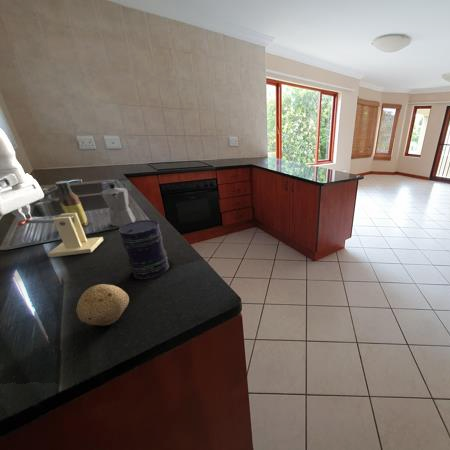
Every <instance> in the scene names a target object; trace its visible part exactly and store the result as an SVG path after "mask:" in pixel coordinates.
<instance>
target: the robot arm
mask: <svg viewBox="0 0 450 450" xmlns="http://www.w3.org/2000/svg"><path fill="white" fill-rule="evenodd" d="M44 198H45V193H44V191H43V190H42V187H41V185H40V184H39V182H38V181H37V180H36V179H35V178H34V177H33V176H32V175H31V174H29V173H27V172H25V171H24V168H23V166H22V164H20V162H19V161H18V159H17V156H16V150H15V149H14V147H13V144H12V142H11V140H10V138H9V137H8V135H7V134H6V132H5V131H4V130H3V128H1V127H0V217H1V216H5V215H7V214H9V213H11V214H12V215H13V216H15V217H16V218H17V220H18V221H19V222H21V221H26V220H27V219H29V218H31V217H32V214H31V205H30V204H33V203H35V202H37V201H40V200H43V199H44ZM32 218H33V217H32Z"/></svg>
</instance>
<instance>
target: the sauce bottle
mask: <svg viewBox="0 0 450 450" xmlns="http://www.w3.org/2000/svg"><path fill="white" fill-rule="evenodd" d="M55 186H56V187H57V190H58V192H59V193H58V194H59V199H58V200H59V201H58V203H59V205H60V207H61V209H62V212H63V214H66V213H77V215H78V218H79V220H80V223H81V225H82V228H84V227H85V226H87V225H89V222H88V218H87V216H86V213H85V210H84V208H83V205H82V202H81V201H80V199H79V196H78V195H77V194H76V193H74V192H73V191H72V189H71V186H70V182H69V180H61V181H56V182H55Z"/></svg>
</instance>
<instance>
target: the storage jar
mask: <svg viewBox="0 0 450 450" xmlns="http://www.w3.org/2000/svg"><path fill="white" fill-rule="evenodd" d="M118 232H119V234H120V239H121V242H122V245H123V247H124V249H125V251H126V253H127V256H128V263H129V267H130V270H131V271H132V274H133V277H134V278H136V279H139V280H147V279H148V280H149V279H152V278H155V277H158V276H160V275H163V274H164V273H166V272H167V270H168V269H169V267H170V264H169V262H168V260H169V259H168V255H167V251H166V249H165V248H164V244H163V235H162V230H161V229H160V224H159V222H158V221H156V220H153V219H145V220H144V219H143V220H135V222H132V223H129V224H126V225H124V226H120V227H119V229H118Z"/></svg>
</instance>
